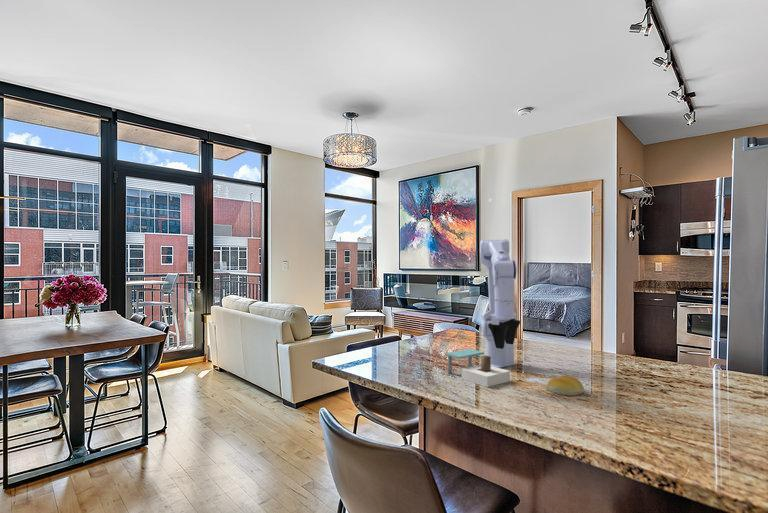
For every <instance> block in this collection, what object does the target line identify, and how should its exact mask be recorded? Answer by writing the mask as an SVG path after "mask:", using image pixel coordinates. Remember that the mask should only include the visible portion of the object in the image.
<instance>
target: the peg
mask: <svg viewBox="0 0 768 513" xmlns="http://www.w3.org/2000/svg"><path fill="white" fill-rule="evenodd" d="M480 365H481V371H483V372H490V371H491V357H490V356H486V355H480Z"/></svg>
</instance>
